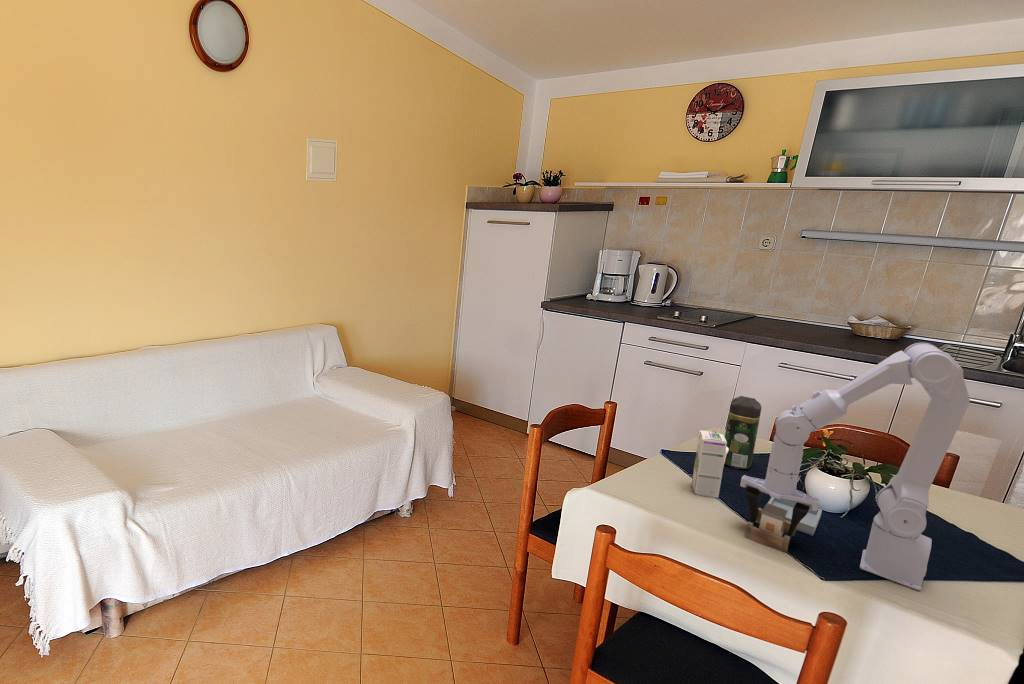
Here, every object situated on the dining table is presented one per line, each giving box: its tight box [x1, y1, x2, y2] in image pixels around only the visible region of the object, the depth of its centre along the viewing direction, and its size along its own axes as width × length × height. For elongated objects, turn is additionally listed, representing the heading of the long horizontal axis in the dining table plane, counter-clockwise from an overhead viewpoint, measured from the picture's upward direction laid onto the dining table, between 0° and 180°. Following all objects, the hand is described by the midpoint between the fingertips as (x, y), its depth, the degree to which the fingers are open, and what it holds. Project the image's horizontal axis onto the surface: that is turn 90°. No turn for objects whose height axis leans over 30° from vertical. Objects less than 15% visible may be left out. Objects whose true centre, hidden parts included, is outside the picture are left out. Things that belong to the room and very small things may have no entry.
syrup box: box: [691, 430, 727, 499], centre depth 128 cm, size 6×6×14 cm
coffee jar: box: [724, 395, 762, 470], centre depth 145 cm, size 10×8×19 cm
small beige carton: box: [758, 502, 788, 537], centre depth 111 cm, size 4×4×6 cm
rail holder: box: [743, 507, 797, 554], centre depth 111 cm, size 8×9×3 cm
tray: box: [767, 496, 823, 537], centre depth 119 cm, size 10×10×2 cm
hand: (771, 528), depth 111 cm, fingers open, 6 cm apart
